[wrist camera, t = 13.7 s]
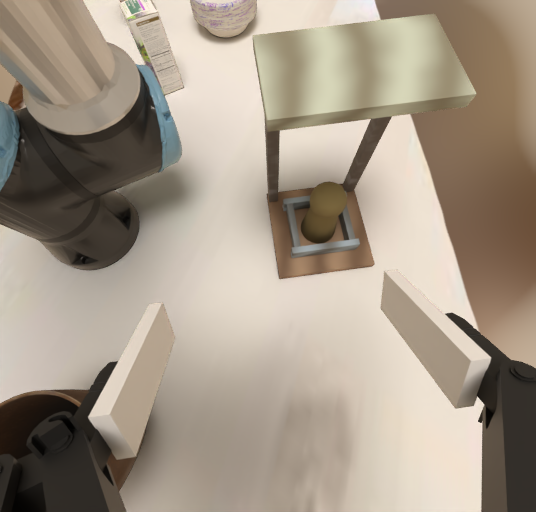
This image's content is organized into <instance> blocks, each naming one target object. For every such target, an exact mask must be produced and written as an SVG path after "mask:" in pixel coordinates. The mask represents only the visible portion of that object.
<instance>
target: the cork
mask: <svg viewBox="0 0 536 512" xmlns="http://www.w3.org/2000/svg"><path fill="white" fill-rule="evenodd" d="M346 204H347V195H346V192H345V191H344V189H343V188H342V187H341V186H340V185H339V184H336V183H334V182H324V183H321V184H319V185H317V186H316V187H315V188H314V189H313V191H312V193H311V195H310V208H309V210H308V211H307V213H306V215H305V217H304V219H303V220H302V222H301V232H302V234H303V236H304V237H305V238H306V239H307V240H308V241H310V242H312V243H317V244H320V243H325V242H327V241H329V240H330V239H331V238H332V237H333V235H334V233H335V229H336V224H337V219H338V215H339V214H341V213H342V212H343V210H344V208H345V207H346Z"/></svg>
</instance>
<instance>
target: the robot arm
mask: <svg viewBox="0 0 536 512" xmlns="http://www.w3.org/2000/svg"><path fill="white" fill-rule="evenodd" d="M0 64H1V65H2V66H3V67H4V68H5V69H6V70H7V71H8V72H9V73H10V74H11V75H12V76H13V77H14V78H15V79H16V80H17V81H18V82H19V83H20V84H22V85H23V98H24V102H25V105H26V108H23V109H21V110H17V111H13V109H12V108H11V107H10V106H9V105H8V104H5V103H4V102H1V101H0V224H1V225H4V226H6V227H8V228H11V229H13V230H16V231H18V232H20V233H23V234H25V235H27V236H30V237H32V238H35V239H37V240H39V241H40V242H41V243H42V244H43V245H44V246H45V247H46V248H47V249H48V250H49V251H50V252H51V253H52V254H53V255H54V256H55V257H56V258H57V259H58V260H60V261H61V262H63V263H65V264H67V265H70V266H72V267H75V268H78V269H82V270H95V269H100V268H104V267H106V266H109V265H111V264H113V263H115V262H116V261H118V260H119V259H120V258H122V257H123V256H124V255H125V254H126V253H127V252H128V251H129V249H130V248H131V247H132V245H133V244H134V242H135V240H136V237H137V234H138V230H139V218H138V214H137V212H136V210H135V208H134V207H133V205H132V204H131V203H130V202H129V201H128V200H127V199H126V198H125V197H123V196H122V195H121V194H119V193H117V192H115V191H113V190H116V189H118V188H121V187H123V186H126V185H128V184H130V183H133V182H135V181H138V180H140V179H143V178H145V177H148V176H150V175H152V174H155V173H157V172H161V171H163V170H164V168H166V167H168V166H170V165H172V164H174V163H176V162H178V161H179V159H180V158H181V155H182V147H181V142H180V138H179V134H178V131H177V128H176V125H175V122H174V120H173V118H172V116H171V112H170V110H169V107H168V103H167V101H166V99H165V96H164V94H163V92H162V89H161V87H160V85H159V83H158V81H157V79H156V77H155V75H154V73H153V72H152V70H151V69H150V68H149V67H148V66H146V65H137V64H135V63H134V61H133V60H132V59H131V57H130V56H129V55H128V54H127V53H126V52H125V51H124V50H122V49H121V48H119V47H117V46H116V45H114V44H111V43H108V42H106V40H105V39H104V37H103V35H102V33H101V32H100V30H99V28H98V26H97V25H96V23H95V21H94V19H93V18H92V16H91V14H90V12H89V10H88V9H87V7H86V5H85V3H84V2H83V0H0ZM381 310H382V311H383V312H384V314H385V315H386V316H387V318H388V319H389V320H390V322H391V323H392V324H393V326H394V327H395V328H396V330H397V331H398V332H399V334H400V335H401V336H402V338H403V339H404V340H405V342H406V343H407V344H408V346H409V347H410V349H411V350H412V351H413V353H414V354H415V355H416V357H417V358H418V359H419V361H420V362H421V363H422V365H423V366H424V367H425V369H426V370H427V371H428V373H429V374H430V375H431V377H432V378H433V379H434V381H435V382H436V383H437V385H438V386H439V387H440V389H441V390H442V391H443V393H444V394H445V395H446V397H447V398H448V399H449V401H450V402H451V403H452V405H453V406H454V407H455V409H456V408H463V407H469V406H474V403H475V401H476V398H477V396H478V397H479V399H480V400H481V401H482V402H483V403H484V404H485V405H484V407H483V410H482V412H481V415H480V417H479V420H478V422H480V423H482V421H483V427H482V510H481V512H536V369H535V368H534V367H532V366H530V365H528V364H525V363H523V362H519V361H514V360H510V359H509V358H508V357H507V356H506V355H505V354H503V353H502V352H501V351H500V350H499V349H498V348H497V347H496V346H494V345H493V344H492V343H491V342H490V341H489V340H488V339H486V338H485V337H484V336H483V335H481V334H480V332H478V331H477V330H476V329H474V328H473V326H472V325H470V324H469V323H468V322H467V321H466V320H465V319H463V318H461V317H459V316H457V315H456V314H454V313H447V314H444V313H443V312H442V311H441V310H440V309H439V308H438V307H437V306H435V305H434V304H433V303H432V302H431V301H430V300H429V299H428V298H427V297H426V296H425V295H424V294H423V293H422V292H421V291H419V290H418V289H417V288H416V287H415V286H414V285H413V284H412V283H411V282H410V281H409V280H408V279H407V278H406V277H404V276H403V275H402V274H401V273H400V272H399V271H398V270H390V271H384V280H383V290H382V300H381ZM174 340H175V335H174V333H173V330H172V327H171V324H170V322H169V319H168V316H167V313H166V311H165V308H164V305H163V302H161V303H153V304H149V306H148V307H147V309H146V311H145V313H144V315H143V317H142V318H141V320H140V322H139V324H138V326H137V328H136V330H135V331H134V333H133V335H132V337H131V339H130V341H129V343H128V344H127V346H126V348H125V350H124V352H123V354H122V355H121V357H120V359H119V361H117V362H110V363H108V364H107V365H106V366H105V367H104V368H103V369H102V370H101V371H100V373H99V374H98V376H97V378H96V379H95V381H94V384H93V385H92V386H91V388H90V389H89V393H87V395H86V396H85V398H84V400H83V401H82V403H81V405H80V406H79V408H78V410H77V411H76V413H75V415H74V416H72V414H71V413H70V412H66V411H62V412H58V413H55V414H53V415H51V416H49V417H47V418H46V419H45V420H43V421H42V422H41V423H39V425H38V426H37V427H36V428H35V429H34V430H33V431H32V432H31V434H30V436H29V437H28V440H27V445H26V446H27V447H28V448H29V449H30V450H31V451H32V452H33V453H31V454H29V455H27V456H24V457H22V458H20V459H17V460H16V459H15V458H14V457H13V456H12V455H11V454H3V455H0V512H126V509H125V507H124V504H123V501H122V499H121V496H120V493H119V491H118V488H117V485H116V483H115V480H114V477H113V475H112V472H111V469H110V467H109V465H108V464H107V461H108V459H109V456H110V454H111V452H112V453H113V455H114V456H115V458H116V459H117V460H118V459H125V458H131V457H136V455H137V452H138V449H139V446H140V443H141V440H142V437H143V434H144V431H145V428H146V425H147V422H148V419H149V416H150V413H151V410H152V407H153V404H154V401H155V398H156V395H157V392H158V389H159V386H160V383H161V380H162V377H163V373H164V370H165V367H166V364H167V361H168V358H169V355H170V352H171V349H172V346H173V343H174Z"/></svg>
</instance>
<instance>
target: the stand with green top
mask: <svg viewBox="0 0 536 512" xmlns="http://www.w3.org/2000/svg"><path fill="white" fill-rule="evenodd" d="M253 47H254V54H255V60H256V66H257V72H258V78H259V84H260V90H261V96H262V101H263V107H264V113H265V136H266V159H267V181H268V194H267V200H268V207H269V213H270V220H271V226H272V233H273V239H274V246H275V253H276V259H277V266H278V272H279V279H283V278H291V277H298V276H305V275H312V274H320V273H327V272H334V271H341V270H349V269H356V268H363V267H371V266H373V265H374V260H373V256H372V253H371V249H370V246H369V242H368V238H367V235H366V231H365V227H364V224H363V220H362V217H361V213H360V209H359V206H358V202H357V199H356V195H355V191H354V189H355V187H356V185H357V183H358V181H359V179H360V177H361V175H362V173H363V171H364V169H365V168H366V166H367V164H368V162H369V160H370V158H371V156H372V154H373V152H374V150H375V148H376V146H377V144H378V142H379V140H380V138H381V137H382V135H383V133H384V131H385V129H386V127H387V125H388V123H389V121H390V119H391V117H392V116H397V115H405V114H413V113H421V112H428V111H437V110H445V109H452V108H461V107H466V106H467V105H468V104H469V103H470V102H471V100H472V99H473V98H474V96H475V95H476V92H475V90H474V88H473V86H472V84H471V82H470V80H469V78H468V77H467V75H466V73H465V71H464V69H463V67H462V65H461V63H460V61H459V59H458V57H457V55H456V54H455V52H454V50H453V48H452V46H451V44H450V42H449V40H448V38H447V36H446V34H445V32H444V30H443V28H442V27H441V25H440V23H439V21H438V19H437V17H436V15H435V14H429V15H421V16H412V17H404V18H395V19H387V20H378V21H370V22H361V23H353V24H345V25H336V26H328V27H319V28H311V29H303V30H294V31H286V32H277V33H269V34H260V35H253ZM366 119H371V120H370V123H369V125H368V127H367V130H366V132H365V134H364V137H363V139H362V141H361V144H360V146H359V148H358V151H357V153H356V155H355V158H354V160H353V162H352V165H351V167H350V169H349V172H348V174H347V176H346V179H345V181H344V183H343V184H339V185H340V186H341V187H342V188H343V189H344V191H345V192H346V195H347V204H346V207H345V208H344V210H343V212H342V213H341V214H339V215H338V219H337V224H336V229H335V233H334V235H333V237H332V238H331V239H330V240H329V241H327V242H325V243H320V244H317V243H312V242H310V241H308V240H307V239H306V238H305V237H304V236H303V234H302V232H301V222H302V220H303V219H304V217H305V215H306V213H307V211H308V210H309V208H310V195H311V193H312V191H313V189H314V188H308V189H300V190H292V191H285V192H278V176H279V133H280V130H287V129H294V128H302V127H310V126H318V125H326V124H334V123H342V122H350V121H358V120H366Z"/></svg>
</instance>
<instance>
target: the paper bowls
mask: <svg viewBox="0 0 536 512" xmlns="http://www.w3.org/2000/svg"><path fill="white" fill-rule="evenodd" d="M190 3H191V7H192V11H193V15H194V18H195V19H196V21H197V22H198V23H199V24H200V25H202V26H204V27H205V28H207V29H208V31H209V32H211V33H212V34H213V35H216V36H219V37H233V36H236V35H238V34H240V33H242V32H243V31H244V30H245V29H246V27H247V25H248V23H249V22H251V21H252V20H253V18H254V17H255V15H256V12H257V0H190Z"/></svg>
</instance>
